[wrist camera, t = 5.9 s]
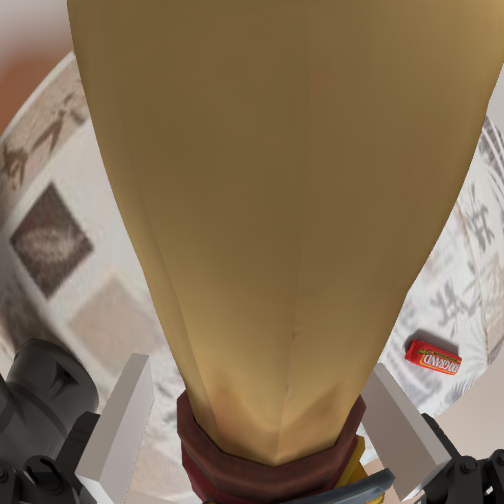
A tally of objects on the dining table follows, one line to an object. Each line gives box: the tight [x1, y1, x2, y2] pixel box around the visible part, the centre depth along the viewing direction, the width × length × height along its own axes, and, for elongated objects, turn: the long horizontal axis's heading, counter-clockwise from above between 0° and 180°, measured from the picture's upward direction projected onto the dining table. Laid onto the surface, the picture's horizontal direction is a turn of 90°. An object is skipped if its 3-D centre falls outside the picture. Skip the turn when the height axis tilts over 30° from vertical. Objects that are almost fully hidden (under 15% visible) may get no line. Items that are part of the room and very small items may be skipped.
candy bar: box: [405, 340, 462, 375], centre depth 34 cm, size 16×4×3 cm, turn 64°
